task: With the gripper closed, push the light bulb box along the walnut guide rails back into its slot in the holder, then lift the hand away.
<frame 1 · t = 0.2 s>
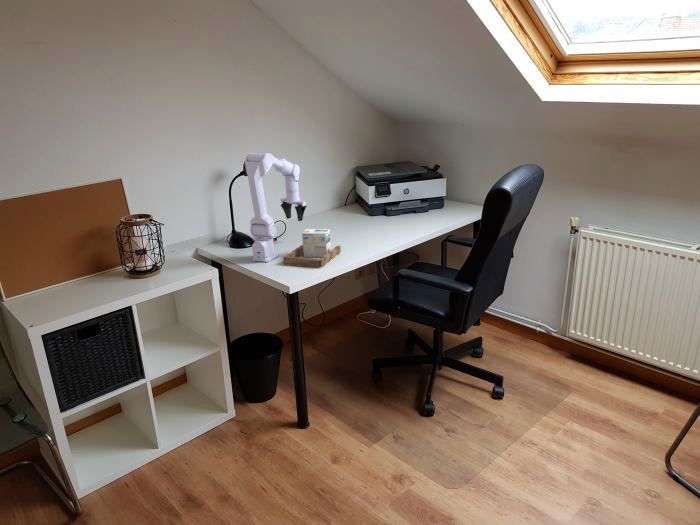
hand: (294, 219, 265), 10 cm above the table, tool pointing down, fingers open, 7 cm apart
walnut holder: (308, 261, 240), on the table
light bulb box: (317, 255, 247), resting in walnut holder
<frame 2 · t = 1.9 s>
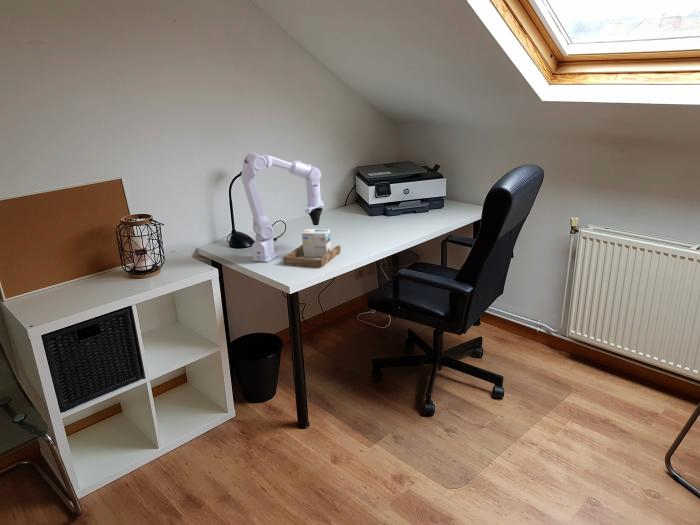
hand: (315, 224, 253), 11 cm above the table, tool pointing down, fingers closed
nothing on the table moved.
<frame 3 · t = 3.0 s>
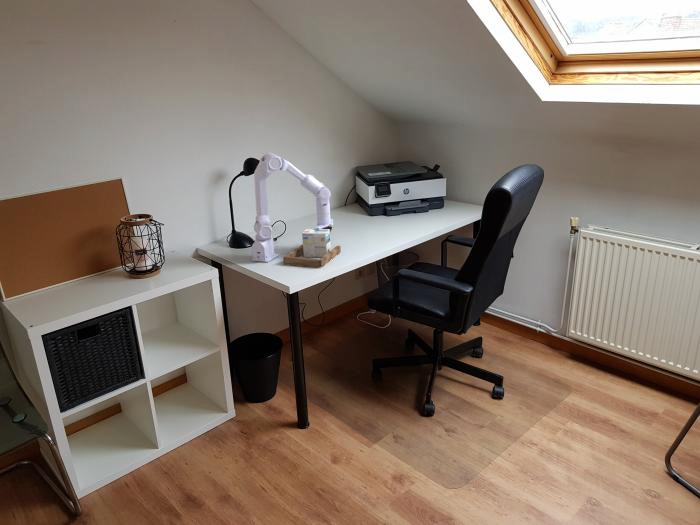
hand: (325, 243, 254), 2 cm above the table, tool pointing down, fingers closed
nothing on the table moved.
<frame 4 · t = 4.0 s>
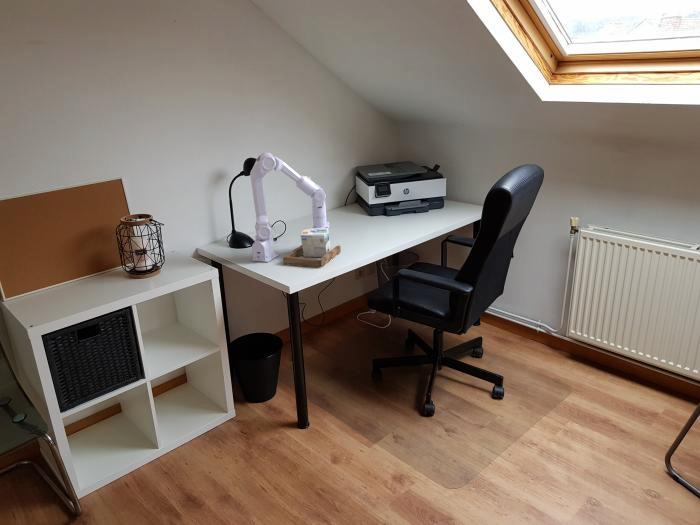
hand: (321, 246, 250), 2 cm above the table, tool pointing down, fingers closed
light bulb box: (317, 253, 247), resting in walnut holder, touching gripper
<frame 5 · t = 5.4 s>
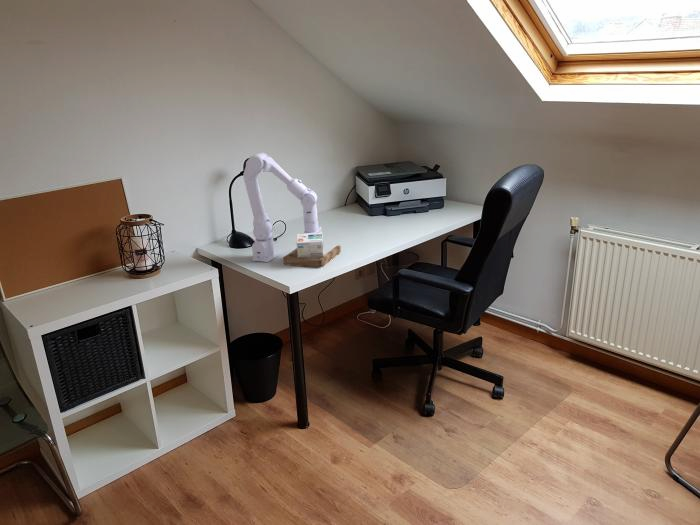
hand: (313, 251, 243), 2 cm above the table, tool pointing down, fingers closed, pressing on light bulb box
light bulb box: (311, 258, 240), point 1 cm above the table, touching gripper, walnut holder
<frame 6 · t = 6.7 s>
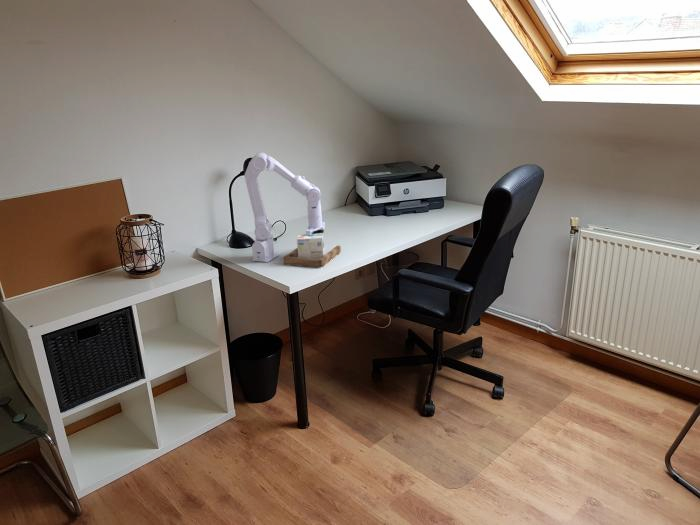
hand: (316, 247, 246), 3 cm above the table, tool pointing down, fingers closed
light bulb box: (311, 260, 241), resting in walnut holder
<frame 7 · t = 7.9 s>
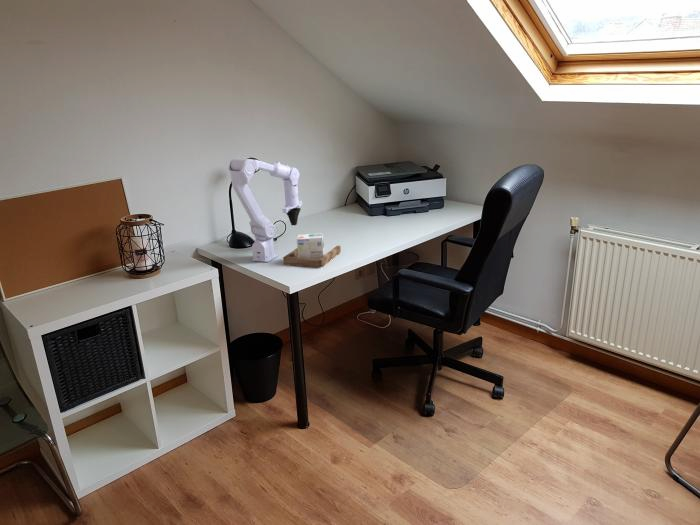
hand: (294, 224, 255), 10 cm above the table, tool pointing down, fingers closed
nothing on the table moved.
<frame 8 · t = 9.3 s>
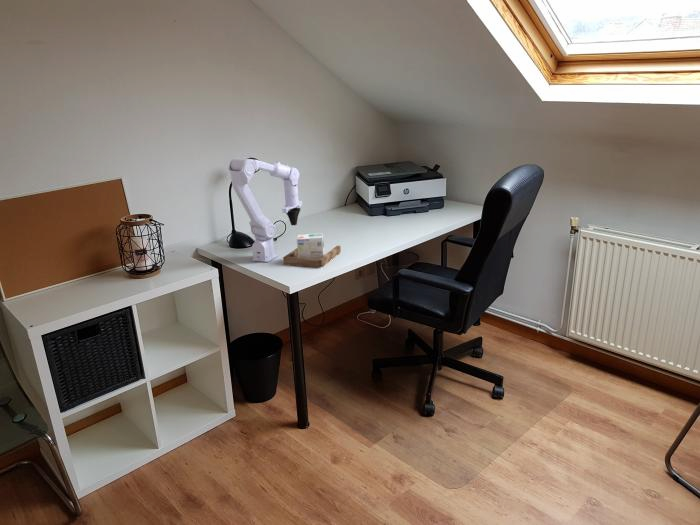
hand: (293, 224, 255), 10 cm above the table, tool pointing down, fingers closed
nothing on the table moved.
at the end: light bulb box 1.9 cm off-centre on the walnut holder, point 0.0 cm above the walnut holder's base; light bulb box tilted 0° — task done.
